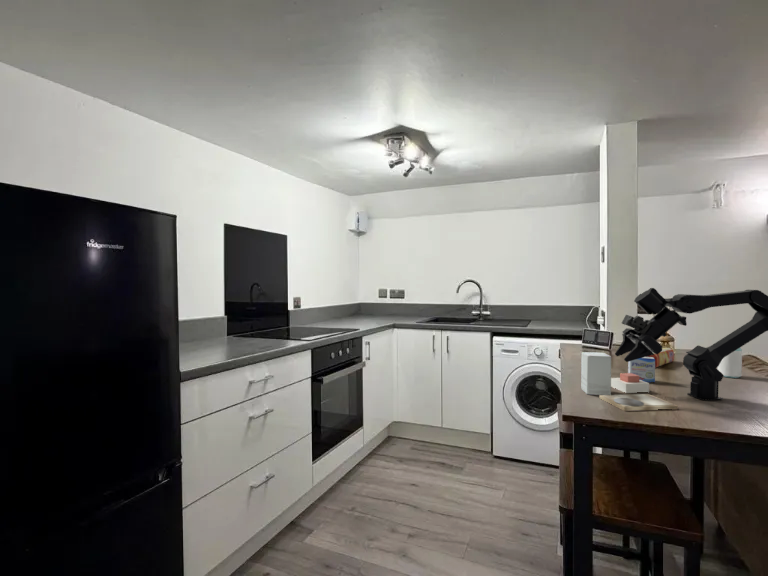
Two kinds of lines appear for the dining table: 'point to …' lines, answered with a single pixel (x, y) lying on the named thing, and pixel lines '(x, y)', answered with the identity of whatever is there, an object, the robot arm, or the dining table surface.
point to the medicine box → (643, 368)
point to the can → (732, 365)
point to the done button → (629, 377)
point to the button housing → (629, 386)
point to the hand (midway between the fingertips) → (620, 357)
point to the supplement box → (596, 373)
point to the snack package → (663, 357)
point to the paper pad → (637, 402)
